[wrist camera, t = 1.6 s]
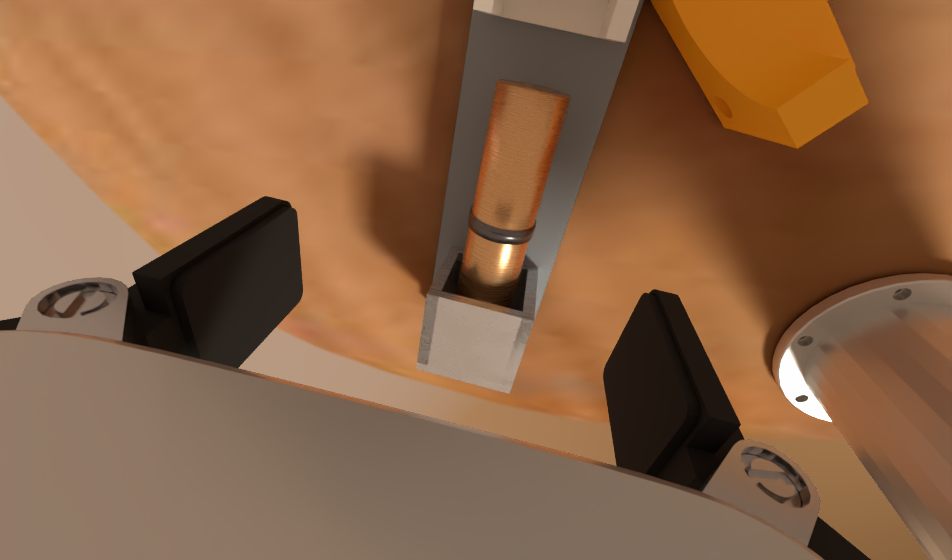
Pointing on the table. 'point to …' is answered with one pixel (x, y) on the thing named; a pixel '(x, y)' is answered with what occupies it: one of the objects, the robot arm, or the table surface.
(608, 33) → the light grey u-shaped block
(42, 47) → the table surface
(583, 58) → the board
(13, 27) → the table surface
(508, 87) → the tube
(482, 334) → the sleeve
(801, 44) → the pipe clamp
